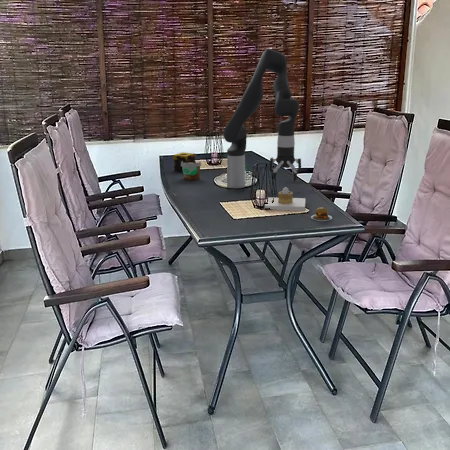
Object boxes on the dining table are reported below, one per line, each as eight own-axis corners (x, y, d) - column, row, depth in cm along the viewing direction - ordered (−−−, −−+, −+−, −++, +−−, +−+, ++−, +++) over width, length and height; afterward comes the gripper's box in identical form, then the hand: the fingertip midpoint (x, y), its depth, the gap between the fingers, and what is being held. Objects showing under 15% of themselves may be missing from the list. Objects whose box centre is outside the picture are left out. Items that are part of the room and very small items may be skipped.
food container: (177, 180, 288) (176, 162, 285) (182, 177, 294) (181, 160, 291) (197, 181, 284) (196, 164, 281) (201, 179, 289) (201, 162, 286)
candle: (196, 169, 316) (196, 153, 313) (187, 172, 308) (186, 156, 305) (183, 167, 321) (182, 152, 318) (173, 170, 313) (173, 154, 310)
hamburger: (318, 213, 223) (318, 201, 222) (341, 219, 215) (341, 207, 213) (301, 220, 215) (301, 207, 214) (325, 226, 207) (325, 213, 206)
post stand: (264, 210, 229) (264, 190, 226) (267, 201, 242) (267, 183, 239) (304, 210, 226) (305, 191, 223) (305, 202, 239) (305, 184, 236)
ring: (278, 203, 231) (278, 194, 229) (278, 199, 237) (278, 190, 235) (292, 204, 230) (292, 194, 228) (292, 200, 236) (292, 191, 234)
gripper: (269, 146, 222) (268, 182, 227) (301, 146, 220) (300, 183, 225) (270, 143, 229) (270, 178, 234) (302, 143, 227) (301, 179, 232)
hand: (285, 180), depth 230 cm, fingers open, 8 cm apart
